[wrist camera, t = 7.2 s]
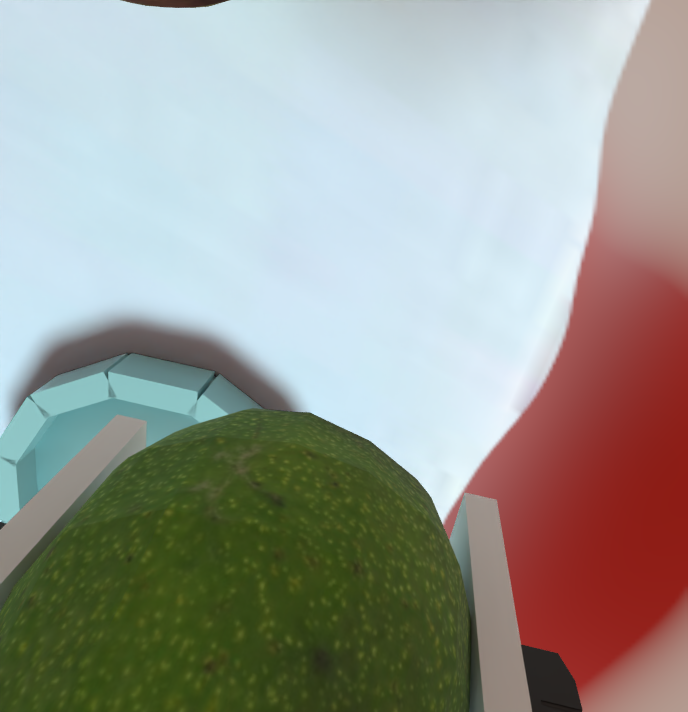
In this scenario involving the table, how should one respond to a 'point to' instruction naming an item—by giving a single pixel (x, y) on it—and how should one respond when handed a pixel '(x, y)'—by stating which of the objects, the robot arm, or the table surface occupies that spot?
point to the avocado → (244, 583)
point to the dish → (104, 415)
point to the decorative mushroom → (177, 3)
